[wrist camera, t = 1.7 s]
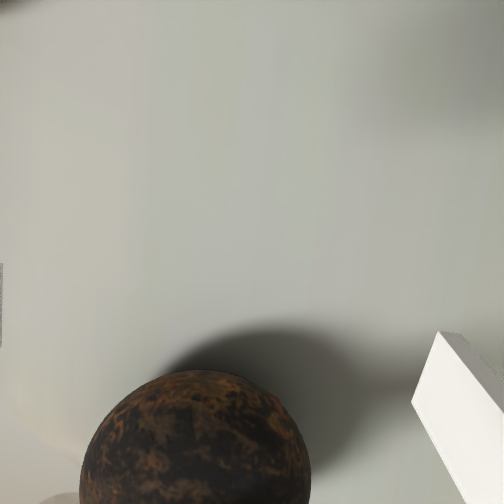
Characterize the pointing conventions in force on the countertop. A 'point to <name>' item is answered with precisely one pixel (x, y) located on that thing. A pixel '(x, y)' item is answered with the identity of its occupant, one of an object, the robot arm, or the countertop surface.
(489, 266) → the countertop surface
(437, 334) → the robot arm
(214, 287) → the countertop surface
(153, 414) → the glass bottle
